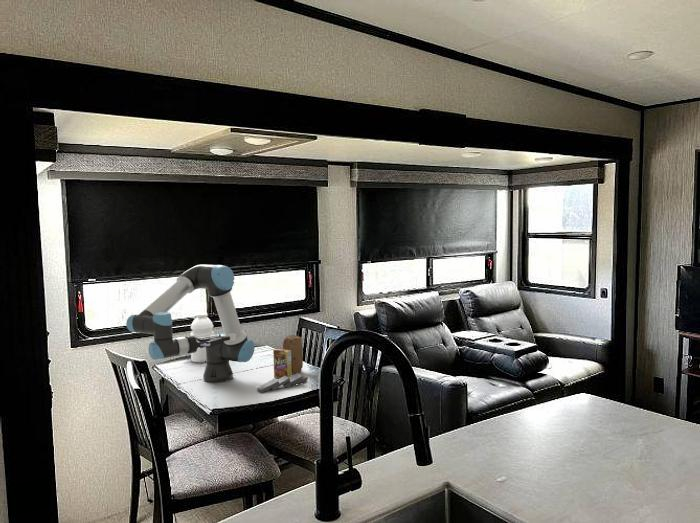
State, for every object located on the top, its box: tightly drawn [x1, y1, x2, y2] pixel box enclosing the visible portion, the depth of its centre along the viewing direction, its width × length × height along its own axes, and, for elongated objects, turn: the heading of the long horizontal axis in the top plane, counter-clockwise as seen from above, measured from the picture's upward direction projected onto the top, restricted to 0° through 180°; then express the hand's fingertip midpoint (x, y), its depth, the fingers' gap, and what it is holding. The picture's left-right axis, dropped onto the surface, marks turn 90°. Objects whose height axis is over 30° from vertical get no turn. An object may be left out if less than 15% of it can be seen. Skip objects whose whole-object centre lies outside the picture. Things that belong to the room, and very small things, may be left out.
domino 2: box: [270, 376, 290, 391], centre depth 269 cm, size 5×2×10 cm
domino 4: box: [292, 375, 308, 386], centre depth 277 cm, size 5×2×10 cm
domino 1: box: [256, 378, 279, 394], centre depth 265 cm, size 5×2×10 cm
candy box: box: [272, 348, 293, 379], centre depth 285 cm, size 9×4×15 cm, turn 61°
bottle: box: [189, 312, 215, 363], centre depth 324 cm, size 14×14×28 cm
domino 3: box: [282, 373, 303, 389], centre depth 272 cm, size 5×2×10 cm
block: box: [282, 334, 304, 375], centre depth 295 cm, size 11×8×20 cm
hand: (235, 336), depth 253 cm, fingers closed
